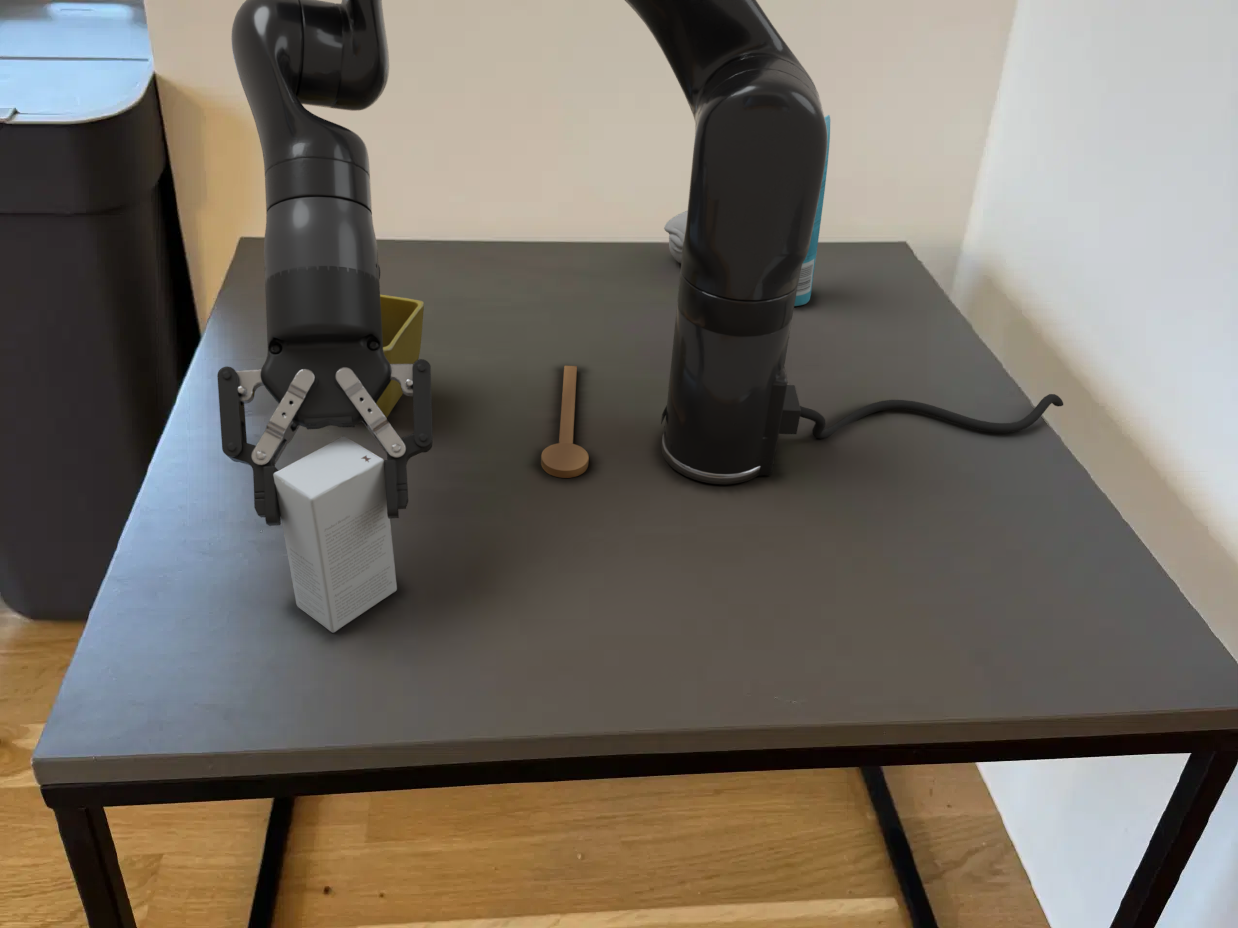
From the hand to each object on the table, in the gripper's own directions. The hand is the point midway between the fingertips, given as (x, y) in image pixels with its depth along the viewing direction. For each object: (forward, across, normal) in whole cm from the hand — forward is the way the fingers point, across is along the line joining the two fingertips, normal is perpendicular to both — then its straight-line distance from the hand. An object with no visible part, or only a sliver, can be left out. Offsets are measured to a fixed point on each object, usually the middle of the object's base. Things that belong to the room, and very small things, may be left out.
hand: (334, 520), depth 73 cm
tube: (-25, +46, +37) cm, 64 cm away
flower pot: (-13, +1, +25) cm, 28 cm away
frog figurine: (-31, +38, +44) cm, 65 cm away
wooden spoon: (-9, +19, +21) cm, 30 cm away
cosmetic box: (+5, 0, +7) cm, 9 cm away
